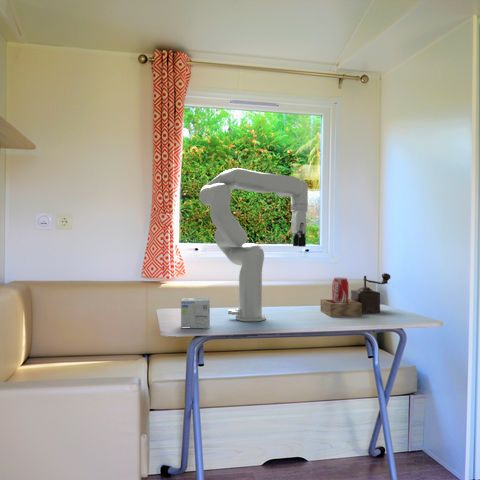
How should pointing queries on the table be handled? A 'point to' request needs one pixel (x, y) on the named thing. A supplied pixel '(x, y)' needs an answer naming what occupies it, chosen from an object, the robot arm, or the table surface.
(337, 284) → the soda can
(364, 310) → the manual coffee grinder
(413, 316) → the table surface
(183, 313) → the light bulb box
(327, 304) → the open wooden box
